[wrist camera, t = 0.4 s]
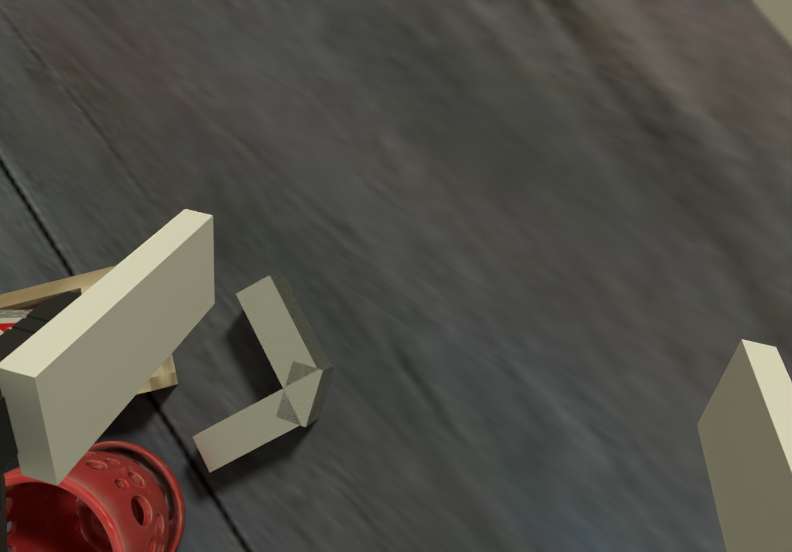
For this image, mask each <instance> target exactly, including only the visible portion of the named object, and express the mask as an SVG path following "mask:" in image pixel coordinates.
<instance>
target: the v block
mask: <svg viewBox="0 0 792 552" xmlns="http://www.w3.org/2000/svg"><path fill="white" fill-rule="evenodd" d="M236 295H237V297H238V299H239V301H240V303H241V305H242V307H243V309H244V311H245V313H246V315H247V317H248V319H249V321H250V323H251V325H252V327H253V329H254V331H255V333H256V335H257V337H258V339H259V341H260V343H261V345H262V347H263V349H264V351H265V353H266V355H267V357H268V359H269V361H270V363H271V365H272V367H273V369H274V371H275V373H276V375H277V377H278V379H279V381H280V383H281V385H282V387H283V389H281V390H279V391H277V392H275V393H274V394H272V395H270V396H268V397H266V398H264V399H262V400H260V401H259V402H257V403H255V404H253V405H251V406H249V407H247V408H245V409H244V410H242V411H240V412H238V413H236V414H234V415H232V416H230V417H229V418H227V419H225V420H223V421H221V422H219V423H217V424H215V425H214V426H212V427H210V428H208V429H206V430H204V431H202V432H200V433H198V434H197V435H195V436H193V439H194V441H195V443H196V445H197V447H198V449H199V451H200V453H201V455H202V458H203V460H204V462H205V464H206V466H207V468H208V470H209V472H212V471H214V470H216V469H218V468H220V467H221V466H223V465H225V464H227V463H229V462H231V461H233V460H235V459H237V458H239V457H241V456H242V455H244V454H246V453H248V452H250V451H252V450H254V449H256V448H258V447H260V446H261V445H263V444H265V443H267V442H269V441H271V440H273V439H275V438H277V437H279V436H280V435H282V434H284V433H286V432H288V431H290V430H292V429H294V428H296V427H298V426H300V425H301V426H304V427H307V426H308V425H310V424H311V423H312V422H314V421H315V420H317V419H318V418H319V416H320V413H321V409H322V406H323V403H324V399H325V396H326V393H327V389H328V386H329V383H330V380H331V376H332V373H333V370H334V366H335V365H332V364H329V362H328V360H327V358H326V356H325V354H324V352H323V350H322V348H321V346H320V344H319V342H318V340H317V338H316V337H315V335H314V333H313V331H312V329H311V327H310V325H309V323H308V321H307V319H306V317H305V315H304V313H303V311H302V309H301V307H300V305H299V303H298V301H297V299H296V297H295V295H294V293H293V291H292V289H291V288H290V286H289V284H288V282H287V280H286V278H285V277H279V276H271V275H269V276H268V277H266V278H264V279H262V280H260V281H258V282H257V283H255V284H253V285H251V286H249V287H248V288H246V289H244V290H242V291H240V292H239V293H237V294H236Z"/></svg>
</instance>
